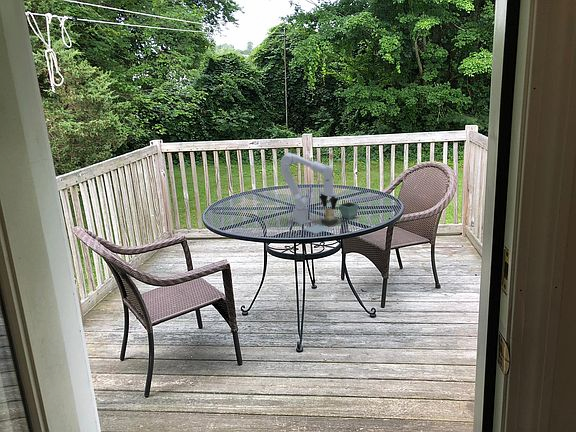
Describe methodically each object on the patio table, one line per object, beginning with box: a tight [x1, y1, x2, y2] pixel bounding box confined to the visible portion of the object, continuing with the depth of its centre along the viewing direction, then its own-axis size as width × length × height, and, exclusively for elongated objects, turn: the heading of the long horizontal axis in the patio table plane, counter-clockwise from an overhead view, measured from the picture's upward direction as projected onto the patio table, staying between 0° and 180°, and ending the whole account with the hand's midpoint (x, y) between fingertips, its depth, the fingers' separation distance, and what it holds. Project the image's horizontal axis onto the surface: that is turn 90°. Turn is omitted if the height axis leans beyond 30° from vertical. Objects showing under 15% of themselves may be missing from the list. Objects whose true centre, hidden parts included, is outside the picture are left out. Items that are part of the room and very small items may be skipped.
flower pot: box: [338, 201, 359, 220], centre depth 289 cm, size 9×9×9 cm
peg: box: [324, 207, 335, 221], centre depth 283 cm, size 4×4×8 cm
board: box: [302, 223, 332, 235], centre depth 272 cm, size 12×12×1 cm
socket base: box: [311, 216, 348, 228], centre depth 284 cm, size 16×16×2 cm
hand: (329, 207), depth 282 cm, fingers open, 7 cm apart
